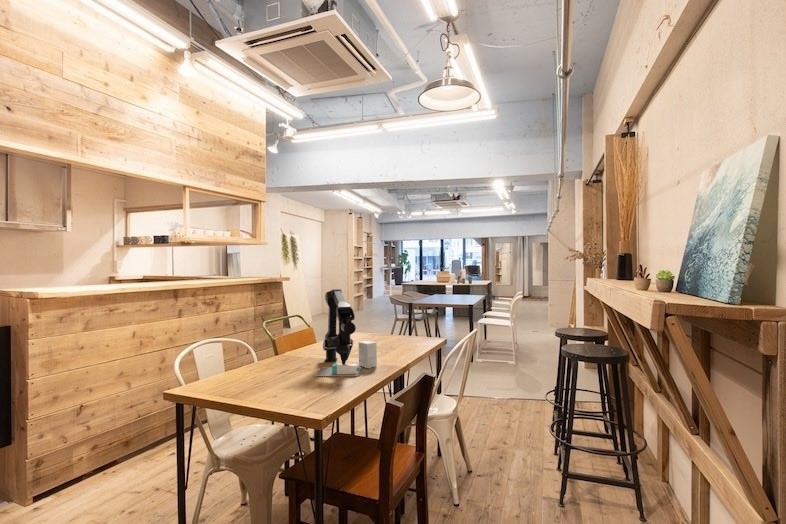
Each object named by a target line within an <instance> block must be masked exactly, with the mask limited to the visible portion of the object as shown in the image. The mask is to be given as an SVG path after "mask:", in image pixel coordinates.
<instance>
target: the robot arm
mask: <svg viewBox="0 0 786 524" xmlns="http://www.w3.org/2000/svg"><path fill="white" fill-rule="evenodd" d="M342 292H343V291H342V289H340V288H334V289H331V290H330V291H326V292H325V295H324V301H325V302H326V305H327V306H328V321H327V322H328V323H327V327H328V328H327V332H326V334H325V335H324V339H323V343H322V350H323V351H324V352H325V359H324V362H337V361H338V359H339V358H338V357H337V354H338V355H339V357H340V361H341V364H342V365H345V364H347V363H346V362H347V361H348V359H349V356H350V354H351V351H352V350H353V349H352V348H353V346H354V340H353V339H352V338H351V335H352V334H354V333H355V332H356V329H357V327H356V325H355V323H354V322H352V321H354V320H355V317H356V316H355V312H354V309H353V307H352V306H351V305H350V303H348V302H346V300H345V298H344V295H343V293H342ZM337 321H338V333H337ZM336 360H337V361H336Z"/></svg>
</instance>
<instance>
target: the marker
mask: <svg viewBox="0 0 786 524" xmlns="http://www.w3.org/2000/svg"><path fill="white" fill-rule="evenodd" d="M331 367H332V374H357V371H359V372H361V371H362V367H360V366H358V363H345V365H342V363H333V364H332V365H331Z"/></svg>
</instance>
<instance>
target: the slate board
mask: <svg viewBox="0 0 786 524" xmlns="http://www.w3.org/2000/svg"><path fill="white" fill-rule="evenodd" d="M358 373H359V374H360V371H357V374H332V366H331V367H323V366H322V367H321V366H320V367H319V368H318V369H317V371H316V372H315V373H314V375H313V377H314V378H318V377H317V376H323V377H322V378H327V377H326V376H357V375H359V374H358ZM324 376H325V377H324ZM357 377H358V376H357Z"/></svg>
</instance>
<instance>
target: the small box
mask: <svg viewBox="0 0 786 524" xmlns="http://www.w3.org/2000/svg"><path fill="white" fill-rule="evenodd" d="M377 350H378V348H377V342H375V341H371V340H364V341H358V367H360V366H362V367H361V368H363V367H365V368H364V369H366V368H369V369H372V368H371V367H374V368H376V367H375V366H377V367H378V362H377V361H378V360H377V357H378V355H377V354H378V353H377Z"/></svg>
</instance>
